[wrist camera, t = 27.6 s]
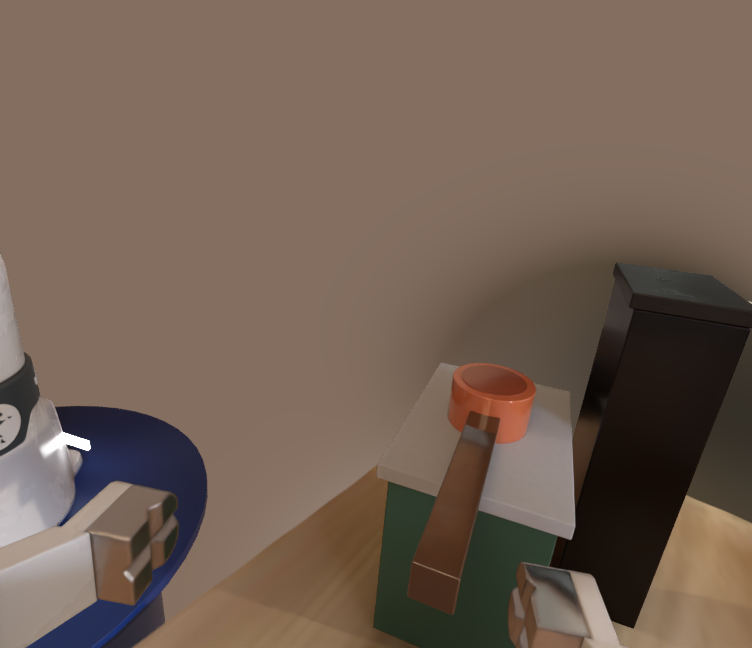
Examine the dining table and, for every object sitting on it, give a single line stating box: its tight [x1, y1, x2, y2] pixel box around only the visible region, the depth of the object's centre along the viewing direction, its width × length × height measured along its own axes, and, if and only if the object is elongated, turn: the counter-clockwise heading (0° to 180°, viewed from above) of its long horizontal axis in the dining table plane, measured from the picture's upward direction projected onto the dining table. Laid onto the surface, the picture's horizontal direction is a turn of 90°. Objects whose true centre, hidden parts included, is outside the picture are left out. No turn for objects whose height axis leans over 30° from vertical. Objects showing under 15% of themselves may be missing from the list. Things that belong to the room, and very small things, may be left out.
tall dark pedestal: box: [551, 263, 752, 628], centre depth 35 cm, size 7×10×26 cm, turn 159°
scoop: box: [407, 363, 536, 615], centre depth 26 cm, size 6×18×3 cm, turn 159°
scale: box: [373, 363, 575, 648], centre depth 35 cm, size 11×16×16 cm
